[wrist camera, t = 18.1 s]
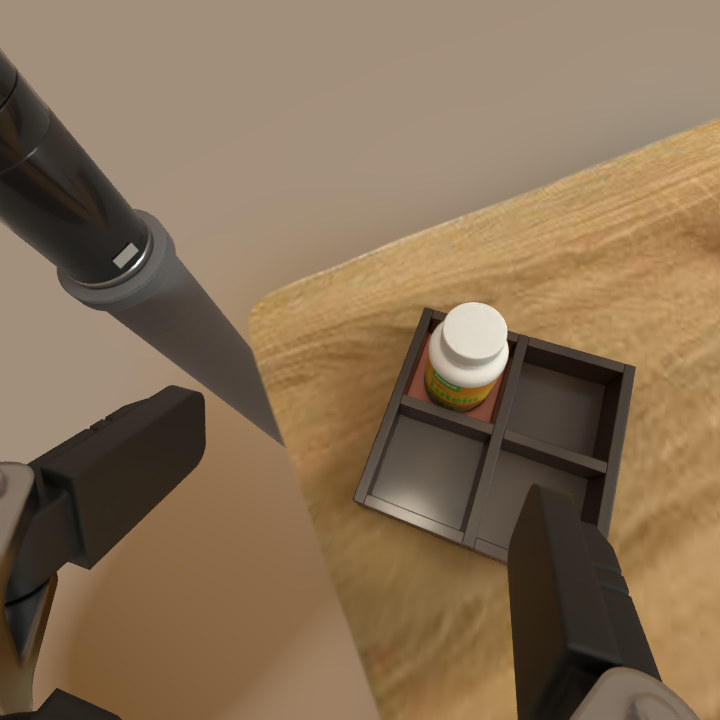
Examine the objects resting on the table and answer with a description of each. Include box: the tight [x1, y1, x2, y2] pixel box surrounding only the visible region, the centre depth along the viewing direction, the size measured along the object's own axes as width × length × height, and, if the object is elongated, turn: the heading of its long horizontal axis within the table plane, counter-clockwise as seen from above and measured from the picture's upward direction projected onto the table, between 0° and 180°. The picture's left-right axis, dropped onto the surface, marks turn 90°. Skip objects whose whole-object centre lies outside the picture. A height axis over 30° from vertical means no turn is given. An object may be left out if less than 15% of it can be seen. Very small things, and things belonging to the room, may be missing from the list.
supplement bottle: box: [424, 302, 509, 412], centre depth 30 cm, size 5×5×10 cm
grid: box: [353, 307, 636, 565], centre depth 32 cm, size 16×16×4 cm
